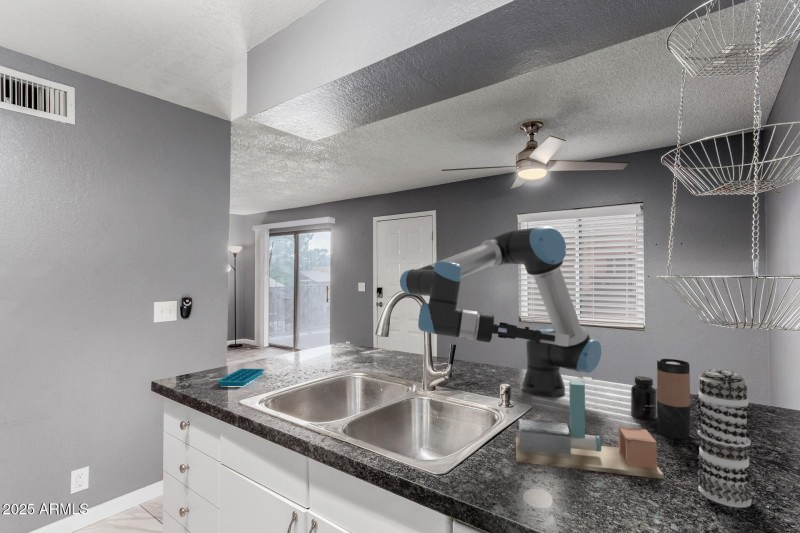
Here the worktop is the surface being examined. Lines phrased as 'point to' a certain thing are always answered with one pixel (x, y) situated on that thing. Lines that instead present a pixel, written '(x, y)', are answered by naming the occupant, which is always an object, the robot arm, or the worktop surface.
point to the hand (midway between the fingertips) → (560, 339)
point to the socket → (637, 447)
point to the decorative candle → (724, 438)
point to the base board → (591, 461)
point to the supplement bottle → (644, 399)
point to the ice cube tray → (240, 377)
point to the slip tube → (580, 420)
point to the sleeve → (544, 438)
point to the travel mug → (673, 398)
